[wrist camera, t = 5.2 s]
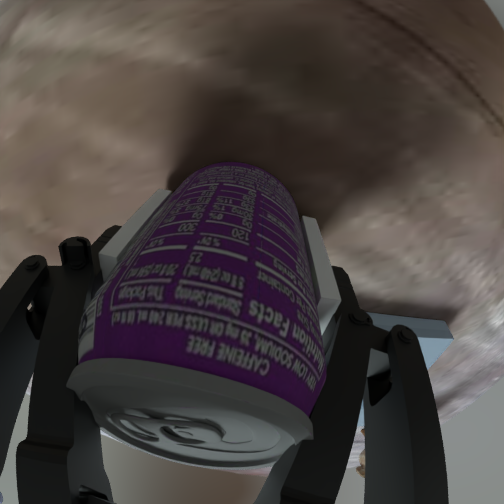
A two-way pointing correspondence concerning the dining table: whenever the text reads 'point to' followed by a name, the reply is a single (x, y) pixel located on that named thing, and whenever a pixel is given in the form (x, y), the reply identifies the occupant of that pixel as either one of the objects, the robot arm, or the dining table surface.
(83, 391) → the beverage can
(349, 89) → the dining table surface
